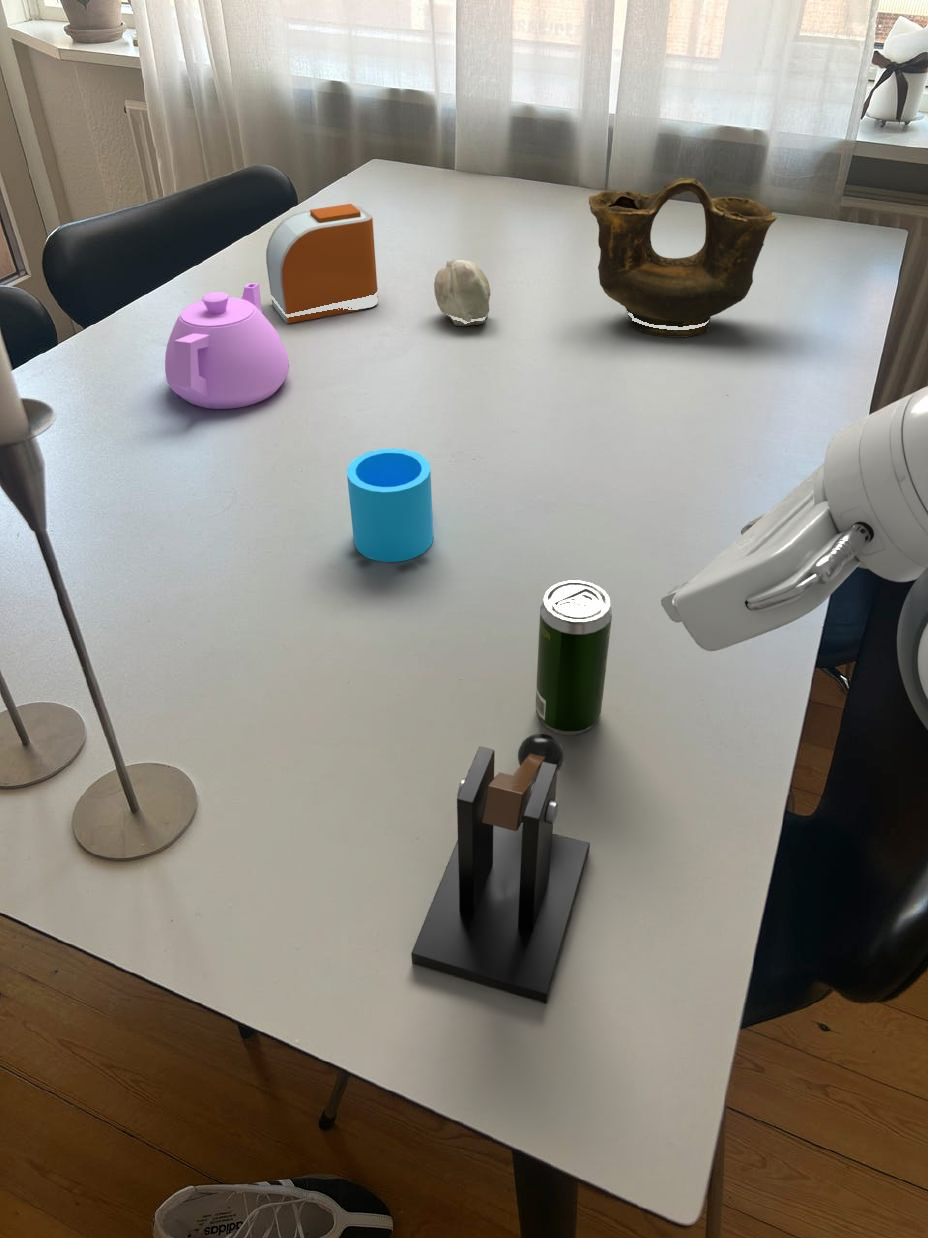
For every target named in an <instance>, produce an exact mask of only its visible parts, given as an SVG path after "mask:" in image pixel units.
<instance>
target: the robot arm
mask: <svg viewBox="0 0 928 1238" xmlns="http://www.w3.org/2000/svg"><path fill="white" fill-rule="evenodd" d="M823 460H824V461H823V463H822V464H821V465H819V466H818V467H817V469H815V470H814V471H813V472H812V473H810V475H808V476H807V477H806V478H805V479H804V480H803V481H802V482H800V484H798V485H797V486H796V487H795V488H794V489H793V490H791V491H790V492H789V493H787V495H786V496H785V497H783V499H781V500H780V501H779V502H778V503H777V504H776V505H775V506H773V507H772V508H771V509H770V510H769V511H767V512H764V513H762V514H760V515H758V516H755V517H754V518H752V519H751V520H750V521H749V522H748V523H746V525H744V526H743V527H742V528H741V530H740V534H741V535H740V536H739V537H738V538H737V539H736V540H734V541H733V542H732V543H731V544H730V545H728V546H727V548H725V549H724V550H723V551H722V552H721V553H719V555H717V556H716V557H715V558H714V559H713V560H712V561H711V562H709V563H708V564H707V565H706V566H705V567H704V568H703V569H702V570H701V571H699V572H698V573H697V574H696V575H695V576H693V577H692V579H690V580H688V581H686V582H684V583H681V584H680V585H676V586H674V587H673V588H672V589H671V590H670V591H668V592H667V593H666V594H665V595H664V596H663V597H661V600H660V604H661V607H662V608H663V610H664V612H665V613H666V614H667V616H668V618H669V619H670V620H671V621H672V622H674V623H682V625H683V626H684V628H685V629H686V631H687V632H688V634H689V635H690V637H691V638H692V639H693V641H694V642H695V643H696V645H697V646H699V648H701V649H702V650H704V651H708V652H716V651H721V650H724V649H727V648H729V647H732V646H735V645H738V644H740V643H743V642H745V641H748V640H751V639H754V638H756V637H759V636H762V635H765V634H767V633H769V632H772V631H775V630H777V629H779V628H781V627H784V626H786V625H788V624H791V623H793V622H795V621H797V620H799V619H801V618H803V617H805V616H806V615H808V614H809V613H811V612H813V611H814V610H816V609H817V608H818V607H819V606H821V605H822V604H823V603H824V602H826V600H828V598H829V597H831V595H832V594H834V592H835V591H836V590H837V589H838V588H839V587H840V586H841V585H842V584H843V583H844V581H845V580H846V579H847V578H848V577H850V575H851V574H852V573H853V572H854V571H855V570H856V569H857V568H860V569H865V570H869V571H871V572H872V573H874V574H875V575H877V576H878V577H881V578H882V579H885V580H888V581H891V582H895V583H907V582H911V581H914V583H913V585H912V586H911V587H910V590H909V591H908V593H907V595H906V597H905V600H904V602H903V605H902V608H901V611H900V615H899V618H898V624H897V634H896V650H897V651H896V652H897V653H896V654H897V661H898V668H899V671H900V675H901V680H902V682H903V686H904V689H905V692H906V694H907V697H908V699H909V701H910V703H911V706H912V707H913V710H914V712H915V713H916V715H917V716H918V718H919V720H920V721H921V723H922V724H923V726H924V728H925V729H926V730H927V731H928V385H927V386H925V387H923V388H920V389H919V390H916V391H913V392H912V393H910V394H908V395H906V396H903V397H901V398H900V399H898V400H896V401H894V402H892V403H890V404H887V405H886V406H884V407H881V408H880V409H879V410H876V411H874V412H872V413H870V414H868V415H866V416H864V417H862V418H860V419H858V420H856V421H853V422H852V423H849V424H848V425H846V426H844V427H843V428H841V429H839V430H838V431H837V432H836V433H835V434H834V435H833V437H832V438H831V440H830V441H829V443H828V446H827V447H826V451H825V455H824V459H823Z"/></svg>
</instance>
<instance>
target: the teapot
mask: <svg viewBox="0 0 928 1238" xmlns="http://www.w3.org/2000/svg"><path fill="white" fill-rule="evenodd" d="M260 287H261V286H260V283H254V282H249V283H247V284H246V285H245V286H243V291H242V292H243V293H242V297H241V298H240V297H239V298H238V297H229V294H228V293H226V292H221V291H213V292H209V293H206V294H204V295H202V297H201V299H202V300H197V301H195V302H193V303H190V304H189V305H187V306H186V307H184V308H183V309H182V310H181V311H180V313H179V315H178V317H177V319H176V320H175V322H174V325H173V328H172V330H171V332H170V335H169V338H168V341H167V343H166V348H165V355H164V356H165V357H164V374H165V378H166V382H167V384H168V385H169V388H170V389H171V390H172V391H173V392H174V393H176V394H177V396H179V397H180V398H182V399H183V400H185V401H186V402H187V403H189V404H191V405H194V406H197V407H200V408H206V409H215V410H228V409H229V410H230V409H238V408H239V409H240V408H244V407H248V406H251V405H255V404H257V403H258V404H259V403H261V402H262V401H265V400H267V399H268V398H270V397H271V396H272V395H274V394H275V393H276V392H277V391H278V389H279V388H280V387H281V385H282V384H283V383H284V381H285V380H286V378H287V377H288V374H289V372H290V360H289V356H288V353H287V350H286V347H285V344H284V342H283V340H282V339H281V336H280V335H279V333H278V332H277V330H276V328H275V327H274V326H273V324H272V323H271V322H270V321H269V320H268V318H267V317H266V316H265V315H264V313H263V309H262V300H261V299H262V298H261V288H260Z"/></svg>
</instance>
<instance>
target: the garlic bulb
mask: <svg viewBox="0 0 928 1238" xmlns="http://www.w3.org/2000/svg"><path fill="white" fill-rule="evenodd" d="M433 290H434V297H435V300H436V305H437V306H438V308H439V311H440V312H441V313H443V312H444V313H446V314H448V315H451V316H454V317H458V318H462V319H463V320H465V321H467V322H470V321H471V319H478V318H483V317H486V316H487V318H489V313H490V304H489V303H490V297H491V287H490V283H489V279H488V278H487V276H486V275H485V272H484V271H483V270H482V269H481V268H480V267H479V266H478V265H477V264H475V263H474V262H472V261H470V260H465V259H457V260H456V259H454V258H451V259H448V260H447V261H446V264H445V265H444V266H442V267H441V268H440V269H439V270H438V271H437V272H436V274H435V277H434V282H433ZM444 313H443V314H444ZM446 314H445V315H446ZM447 317H448V318H449V319H451V318H450V317H449V316H447ZM451 321H452V322H453V325H454V326H458V327H467V326H469V327H470V326H477V325H482V324H484V323H486V321H487V319H486V320H483V321H474V322H470V323H467V324H464V323H463V322H461V321H457V320H452V319H451Z"/></svg>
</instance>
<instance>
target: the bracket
mask: <svg viewBox="0 0 928 1238" xmlns="http://www.w3.org/2000/svg"><path fill="white" fill-rule="evenodd" d="M557 769H558V765H555V764H551V763H547V762H542V763H541V766H540V769H539V772H538V774H537V777H536V780H535V782H534V784H533V785H532V788H531V794H530V797H529V800H528V803H527V805H526V808H525V811H524V814H523V822H522V824H521V825H520V827H519V828H518V830H517V831H513V830H509V829H505V828H501V827H498V826H494V825H490V824H486V823H482V818H483V812H484V805H485V799H486V793H487V787H488V785H489V784H490V783H491V781H492V780H493V779H494V778H495V749H492V748H488V747H484V746H479V747H478V749H477V751H476V753H475V755H474V758H473V760H472V763H471V764H470V767H469V770H468V772H467V775H466V777H465V778H462V779H461V780H460V783H459V786H458V790H457V794H456V795H457V796H456V811H457V812H456V817H457V818H456V820H457V840H456V843H455V845H454V847H453V850H452V853H451V855H450V858H449V860H448V862H447V865H446V867H445V870H444V871H443V872H444V873H443V875H442V878H441V880H440V882H439V885H438V887H437V890H436V892H435V894H434V897H433V899H432V901H431V904H430V906H429V909H428V911H427V914H426V916H425V919H424V920H423V923H422V925H421V928H420V931H419V934H418V936H417V938H416V941H415V942H414V945H413V948H412V951H411V953H410V956H411V957H410V958H411V964H412V965H415V966H418V967H422V968H426V969H429V970H432V971H436V972H439V973H443V974H446V975H448V976H452V977H456V978H459V979H462V980H466V981H469V982H472V983H475V984H479V985H482V986H485V987H489V988H493V989H496V990H498V991H502V992H505V993H508V994H512V995H515V996H519V997H522V998H525V999H529V1000H532V1001H536V1002H539V1003H542V1004H546V1005H547V1004H548V1001H549V998H550V994H551V990H552V987H553V982H554V980H555V976H556V972H557V968H558V966H559V962H560V958H561V954H562V951H563V947H564V945H565V940H566V936H567V934H568V929H569V926H570V922H571V919H572V915H573V912H574V907H575V904H576V901H577V897H578V894H579V889H580V886H581V883H582V879H583V876H584V872H585V868H586V864H587V861H588V858H589V854H590V846H591V843H590V842H588V841H583V840H580V839H576V838H571V837H569V836H564V835H560V834H557V833H554V832H553V831H554V824H555V822H556V819H557V815H558V810H559V801H557V800H556V796H557V795H556V794H557V782H558V781H557V779H558V772H557Z"/></svg>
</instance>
